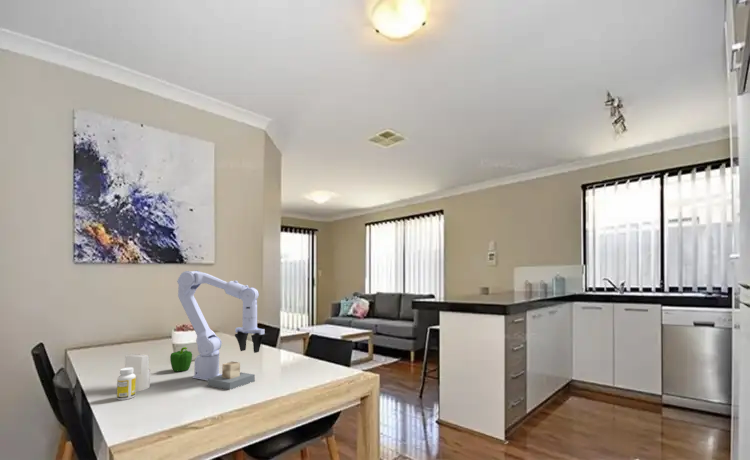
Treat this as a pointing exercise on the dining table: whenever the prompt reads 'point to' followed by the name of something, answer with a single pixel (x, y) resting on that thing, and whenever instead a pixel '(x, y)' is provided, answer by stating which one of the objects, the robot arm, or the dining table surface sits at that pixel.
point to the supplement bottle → (126, 384)
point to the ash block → (230, 370)
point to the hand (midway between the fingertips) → (249, 351)
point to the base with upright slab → (139, 370)
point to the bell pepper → (181, 360)
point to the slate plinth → (231, 381)
